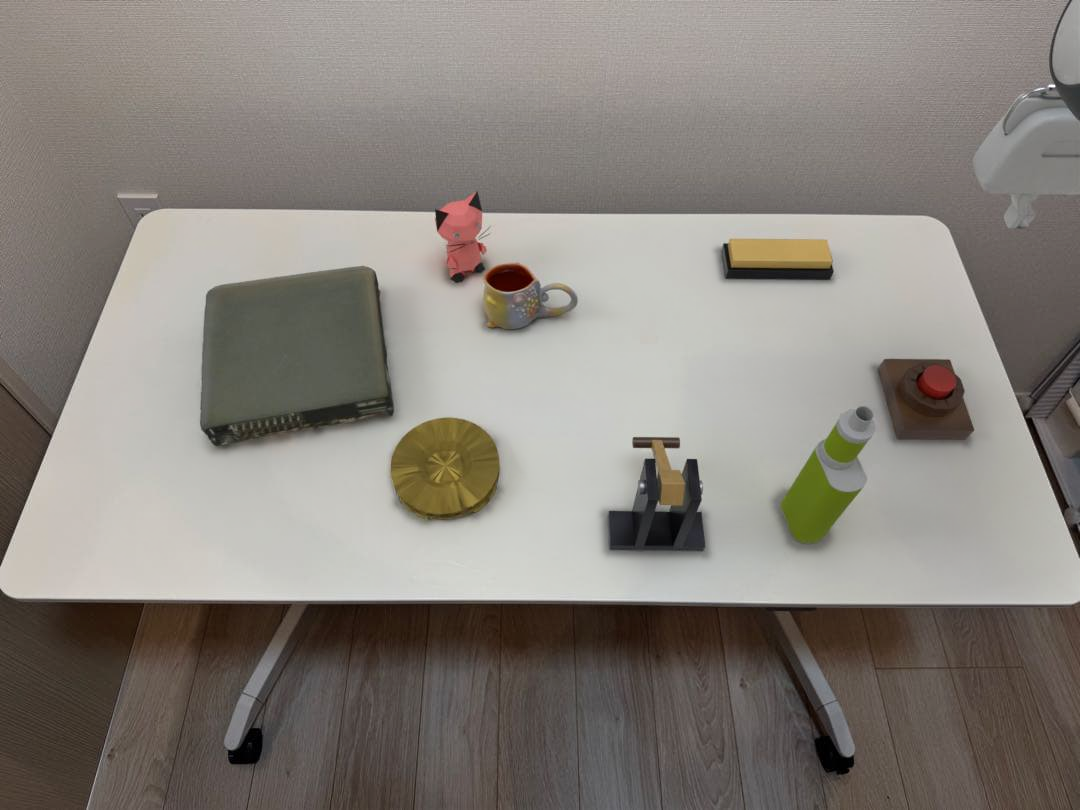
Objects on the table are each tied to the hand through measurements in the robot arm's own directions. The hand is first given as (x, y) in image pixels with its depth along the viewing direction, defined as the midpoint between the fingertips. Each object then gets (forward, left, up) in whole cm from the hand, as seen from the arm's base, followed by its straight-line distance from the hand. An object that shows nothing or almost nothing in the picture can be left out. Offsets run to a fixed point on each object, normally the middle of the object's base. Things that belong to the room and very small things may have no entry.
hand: (1060, 223), depth 67 cm
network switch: (+5, +75, -29) cm, 81 cm away
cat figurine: (+21, +56, -29) cm, 67 cm away
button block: (0, 0, -29) cm, 29 cm away
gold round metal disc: (-10, +56, -29) cm, 64 cm away
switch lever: (-14, +33, -22) cm, 42 cm away
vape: (-15, +17, -29) cm, 37 cm away
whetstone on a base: (+22, +14, -29) cm, 39 cm away
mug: (+13, +47, -29) cm, 57 cm away
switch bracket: (-17, +33, -29) cm, 47 cm away
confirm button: (0, 0, -26) cm, 26 cm away
